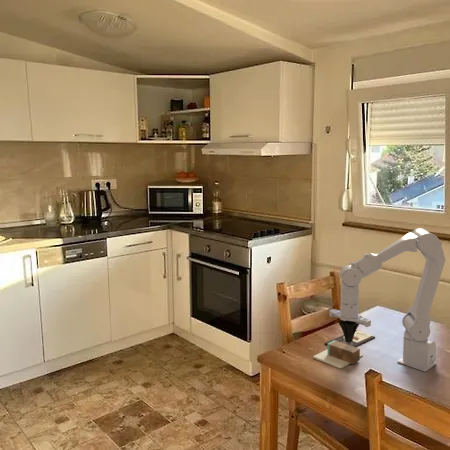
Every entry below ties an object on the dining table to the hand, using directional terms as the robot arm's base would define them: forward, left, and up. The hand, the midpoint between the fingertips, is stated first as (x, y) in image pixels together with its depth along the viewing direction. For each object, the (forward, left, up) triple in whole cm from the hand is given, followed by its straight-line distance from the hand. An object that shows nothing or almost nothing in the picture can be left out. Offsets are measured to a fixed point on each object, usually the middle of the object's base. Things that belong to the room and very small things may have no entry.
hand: (349, 341), depth 151 cm
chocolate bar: (+9, -14, -8) cm, 18 cm away
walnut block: (-3, 0, -4) cm, 5 cm away
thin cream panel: (+4, 0, -7) cm, 8 cm away
